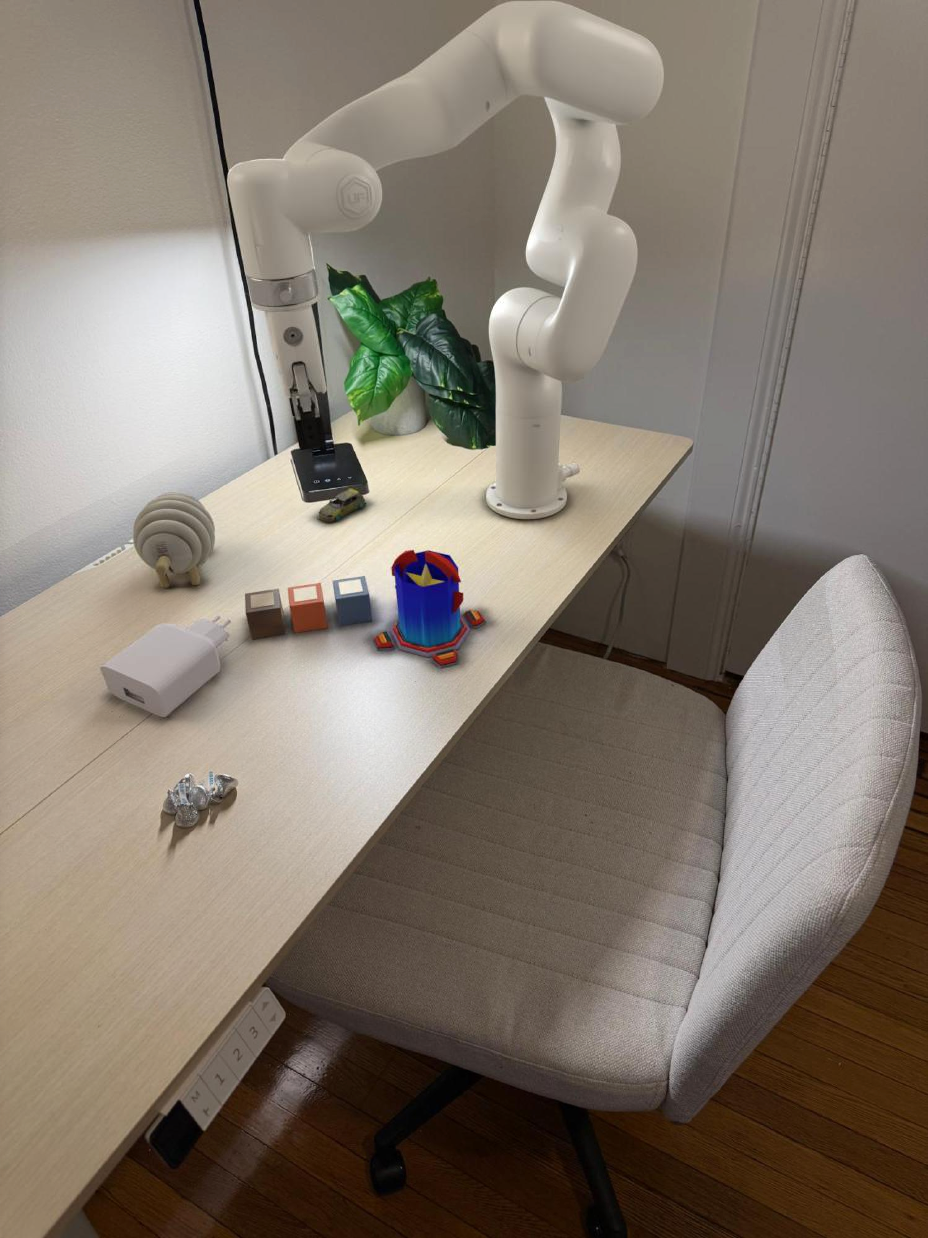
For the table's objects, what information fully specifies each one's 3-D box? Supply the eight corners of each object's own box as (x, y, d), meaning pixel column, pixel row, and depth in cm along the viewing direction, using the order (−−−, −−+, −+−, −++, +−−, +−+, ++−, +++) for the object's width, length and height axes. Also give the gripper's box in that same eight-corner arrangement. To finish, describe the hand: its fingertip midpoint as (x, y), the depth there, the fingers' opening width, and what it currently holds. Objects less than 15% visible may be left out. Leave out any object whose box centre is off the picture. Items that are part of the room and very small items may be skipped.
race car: (314, 517, 126) (311, 502, 124) (353, 497, 130) (351, 483, 129) (329, 525, 124) (327, 510, 122) (368, 504, 128) (367, 490, 127)
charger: (256, 644, 101) (167, 720, 91) (201, 623, 105) (109, 694, 95) (249, 614, 99) (156, 689, 88) (192, 593, 102) (97, 663, 92)
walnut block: (284, 614, 106) (278, 587, 104) (285, 634, 103) (280, 607, 100) (251, 619, 106) (244, 592, 103) (251, 639, 102) (245, 612, 100)
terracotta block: (325, 608, 107) (320, 581, 104) (327, 627, 104) (323, 600, 101) (292, 613, 106) (287, 586, 104) (294, 633, 103) (289, 606, 100)
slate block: (368, 601, 108) (364, 575, 105) (372, 620, 105) (369, 593, 102) (336, 606, 107) (332, 579, 105) (339, 625, 104) (335, 598, 101)
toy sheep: (225, 536, 122) (209, 469, 115) (220, 602, 109) (201, 530, 102) (152, 545, 121) (131, 477, 114) (137, 612, 107) (113, 541, 101)
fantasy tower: (365, 647, 100) (355, 566, 93) (409, 595, 109) (403, 516, 102) (453, 671, 96) (449, 589, 89) (491, 615, 105) (491, 535, 98)
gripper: (326, 306, 85) (348, 456, 95) (309, 263, 98) (330, 398, 109) (253, 315, 84) (283, 466, 94) (245, 270, 97) (273, 407, 107)
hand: (308, 430), depth 101 cm, fingers open, 9 cm apart
